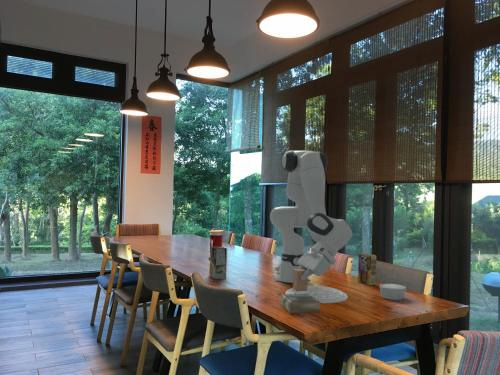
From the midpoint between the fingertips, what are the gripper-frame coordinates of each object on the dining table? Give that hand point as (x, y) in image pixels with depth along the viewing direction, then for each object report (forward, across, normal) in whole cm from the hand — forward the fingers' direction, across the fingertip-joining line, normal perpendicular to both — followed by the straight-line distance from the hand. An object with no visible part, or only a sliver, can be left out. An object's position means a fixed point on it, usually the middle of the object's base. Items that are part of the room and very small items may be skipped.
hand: (298, 277), depth 158 cm
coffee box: (+25, -61, -8) cm, 67 cm away
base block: (+8, 0, +9) cm, 12 cm away
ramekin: (-26, -10, +43) cm, 51 cm away
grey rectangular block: (+3, 0, +4) cm, 5 cm away
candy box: (-28, -38, +45) cm, 65 cm away
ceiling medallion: (-2, -19, +20) cm, 28 cm away
